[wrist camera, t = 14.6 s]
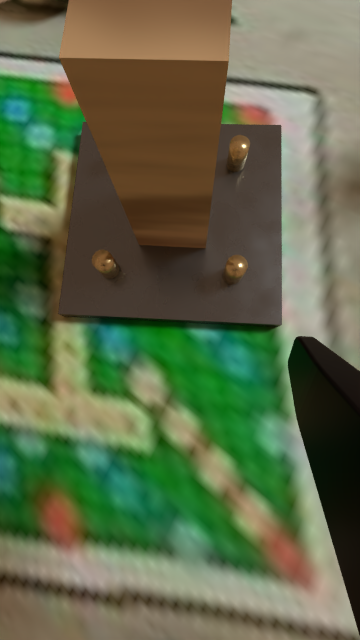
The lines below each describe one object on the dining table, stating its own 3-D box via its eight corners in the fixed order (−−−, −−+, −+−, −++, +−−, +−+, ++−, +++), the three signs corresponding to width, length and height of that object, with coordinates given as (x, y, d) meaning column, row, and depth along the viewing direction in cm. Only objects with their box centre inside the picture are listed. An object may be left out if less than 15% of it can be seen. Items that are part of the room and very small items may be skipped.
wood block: (205, 248, 21) (228, 60, 8) (139, 244, 21) (58, 57, 8) (209, 187, 22) (235, -72, 9) (145, 184, 22) (80, -71, 9)
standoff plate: (277, 326, 21) (291, 320, 18) (64, 316, 22) (44, 308, 19) (277, 135, 23) (289, 101, 20) (87, 132, 24) (72, 99, 21)
